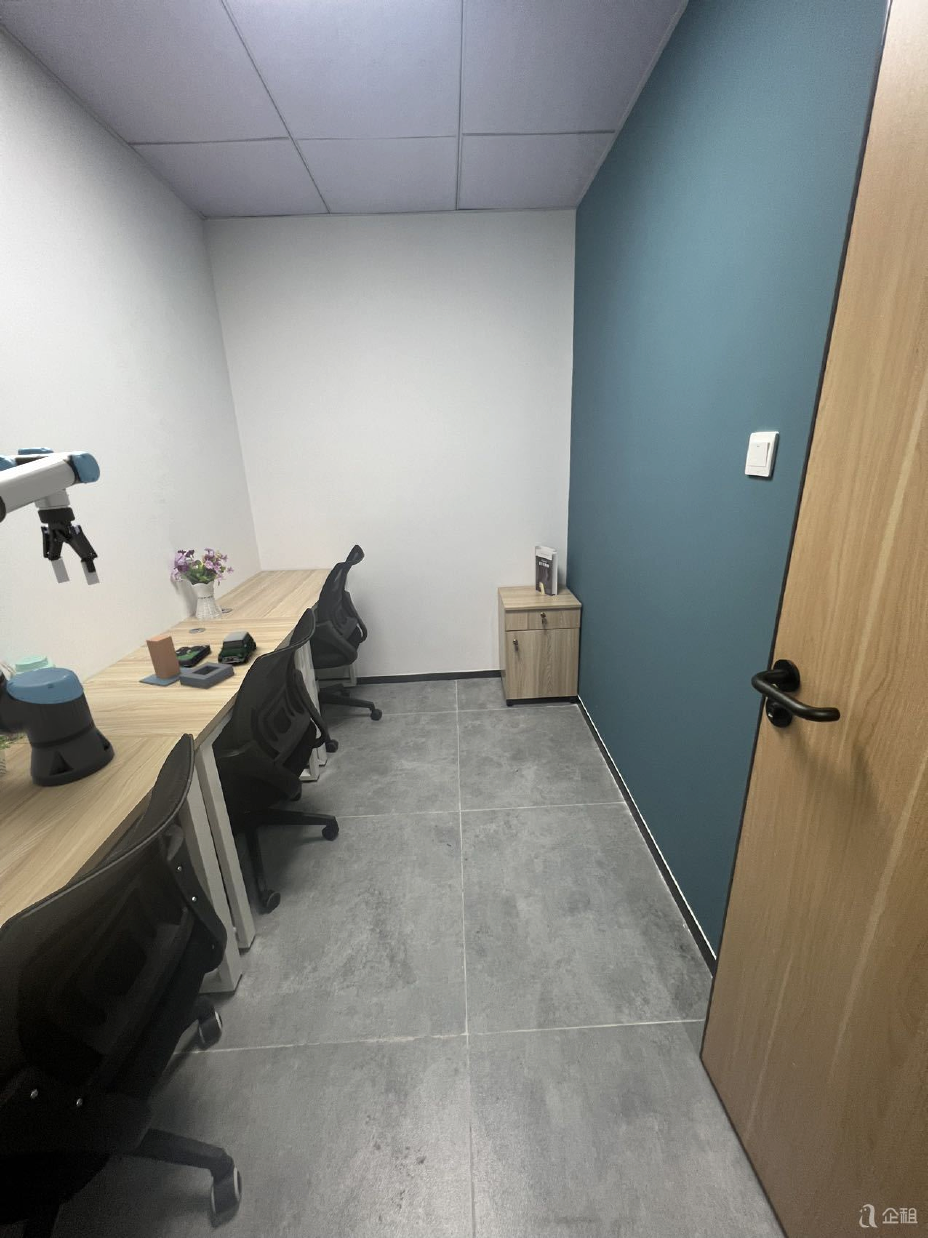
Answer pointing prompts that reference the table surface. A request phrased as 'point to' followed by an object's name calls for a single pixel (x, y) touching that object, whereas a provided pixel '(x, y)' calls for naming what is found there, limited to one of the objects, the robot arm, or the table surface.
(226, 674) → the pocket holder
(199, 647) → the disk drive
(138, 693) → the table surface
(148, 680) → the rubber mat
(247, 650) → the miniature car
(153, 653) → the terracotta block
